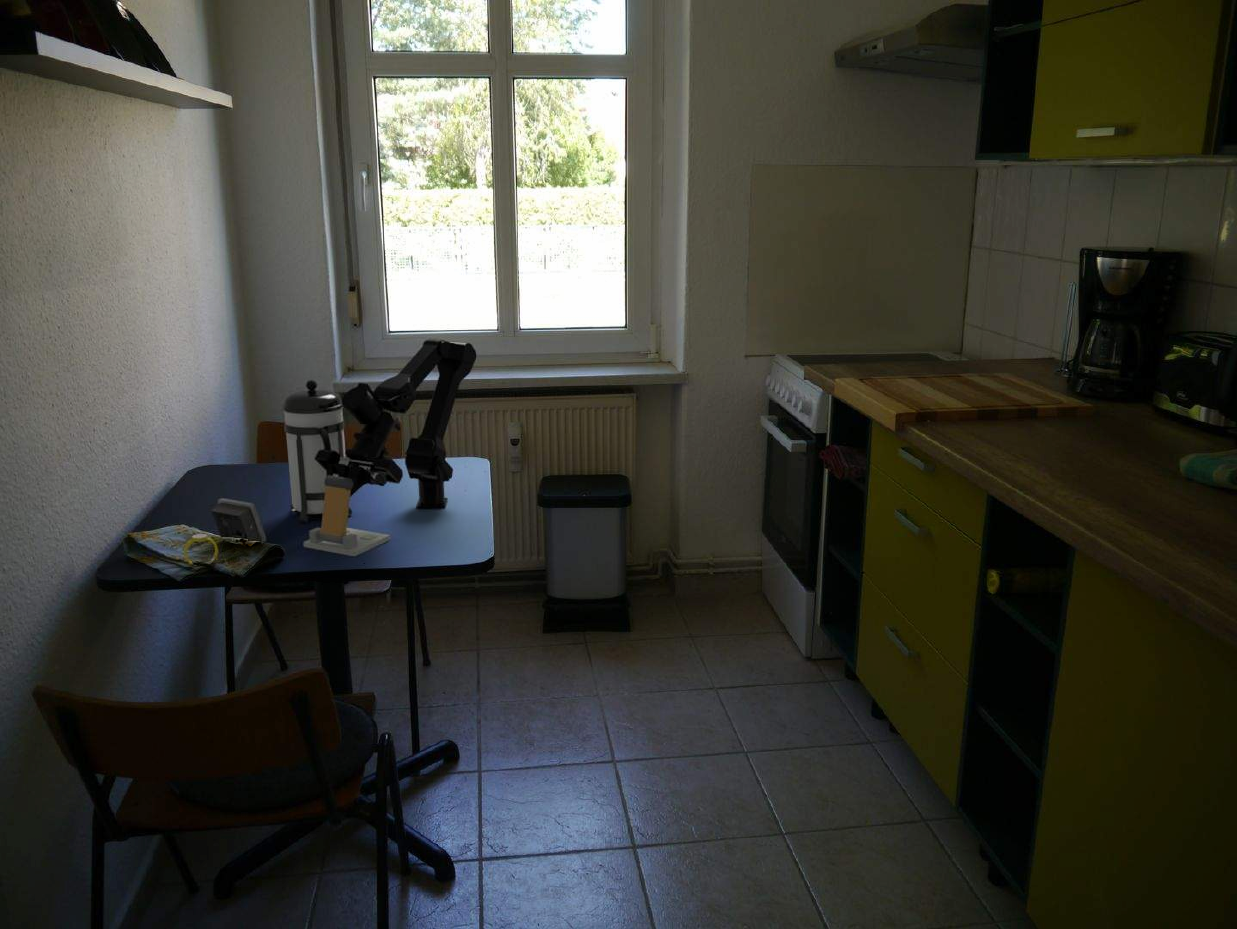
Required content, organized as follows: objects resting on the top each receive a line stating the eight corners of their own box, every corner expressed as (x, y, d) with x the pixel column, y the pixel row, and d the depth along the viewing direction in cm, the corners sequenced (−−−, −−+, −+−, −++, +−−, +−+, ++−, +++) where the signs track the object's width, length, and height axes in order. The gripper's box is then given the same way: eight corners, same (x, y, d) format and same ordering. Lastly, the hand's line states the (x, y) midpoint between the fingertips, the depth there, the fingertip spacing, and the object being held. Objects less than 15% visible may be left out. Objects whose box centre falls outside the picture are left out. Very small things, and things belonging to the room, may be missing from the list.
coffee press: (268, 520, 224) (256, 384, 216) (314, 500, 238) (304, 372, 231) (334, 530, 218) (324, 390, 210) (378, 508, 232) (370, 377, 224)
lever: (324, 540, 208) (331, 475, 208) (348, 544, 206) (355, 478, 205) (316, 540, 206) (323, 475, 206) (340, 544, 204) (347, 478, 203)
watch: (216, 561, 201) (216, 532, 199) (219, 565, 198) (218, 536, 197) (183, 564, 198) (182, 535, 196) (185, 569, 195) (184, 539, 194)
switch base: (340, 530, 218) (338, 515, 217) (389, 539, 212) (388, 523, 211) (303, 546, 208) (302, 530, 207) (354, 556, 203) (353, 539, 202)
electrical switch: (267, 542, 211) (260, 500, 207) (249, 552, 206) (241, 509, 203) (233, 536, 214) (225, 494, 211) (214, 546, 210) (206, 503, 207)
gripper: (427, 462, 216) (398, 527, 209) (357, 452, 224) (325, 515, 217) (403, 433, 207) (371, 500, 201) (330, 424, 215) (296, 488, 208)
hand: (341, 501), depth 207 cm, fingers closed
